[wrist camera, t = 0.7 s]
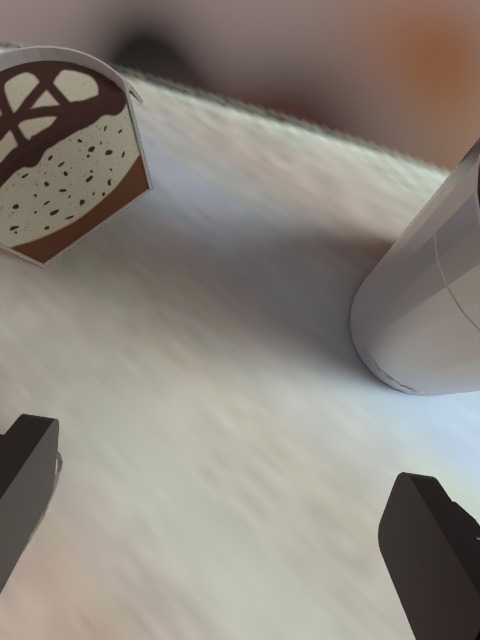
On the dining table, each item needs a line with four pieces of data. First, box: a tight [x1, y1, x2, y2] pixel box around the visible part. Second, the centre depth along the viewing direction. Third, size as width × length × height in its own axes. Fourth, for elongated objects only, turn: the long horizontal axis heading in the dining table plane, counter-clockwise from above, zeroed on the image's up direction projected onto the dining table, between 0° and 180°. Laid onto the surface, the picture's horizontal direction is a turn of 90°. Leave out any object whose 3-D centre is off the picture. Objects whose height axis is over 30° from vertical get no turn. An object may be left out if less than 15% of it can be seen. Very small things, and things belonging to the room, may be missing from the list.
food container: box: [0, 46, 153, 268], centre depth 27 cm, size 12×6×10 cm, turn 128°
